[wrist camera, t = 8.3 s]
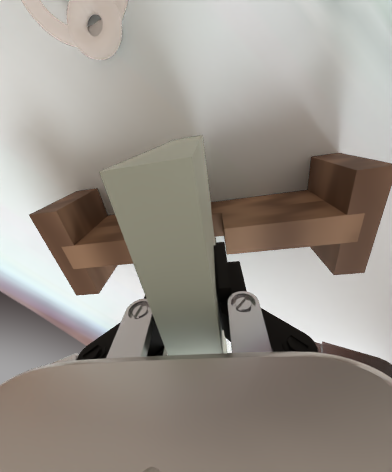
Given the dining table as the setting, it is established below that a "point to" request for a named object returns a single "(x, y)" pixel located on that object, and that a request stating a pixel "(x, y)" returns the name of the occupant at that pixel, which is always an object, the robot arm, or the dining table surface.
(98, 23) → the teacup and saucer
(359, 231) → the walnut slot rail
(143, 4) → the dining table surface
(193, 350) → the sage slot plate
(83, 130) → the dining table surface
